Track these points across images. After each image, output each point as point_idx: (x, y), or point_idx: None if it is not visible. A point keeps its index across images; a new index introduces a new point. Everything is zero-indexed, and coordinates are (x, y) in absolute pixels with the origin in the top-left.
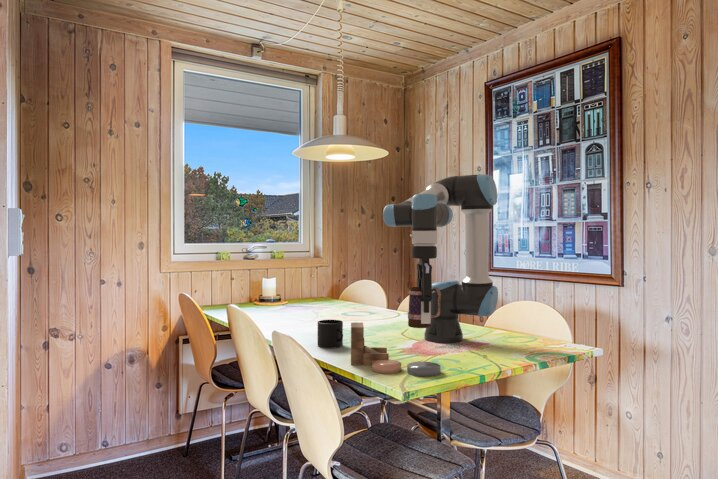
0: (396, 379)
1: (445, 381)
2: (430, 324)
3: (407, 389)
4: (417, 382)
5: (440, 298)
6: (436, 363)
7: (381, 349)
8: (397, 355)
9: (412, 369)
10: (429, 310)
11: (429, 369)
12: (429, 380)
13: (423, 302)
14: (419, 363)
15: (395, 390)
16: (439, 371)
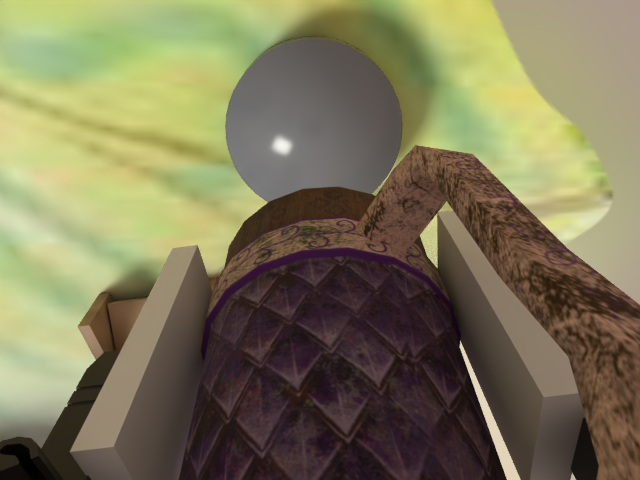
0: (437, 235)
1: (473, 13)
2: (362, 198)
3: (578, 189)
4: (484, 152)
5: (543, 263)
6: (254, 63)
7: (103, 339)
8: (21, 255)
9: (376, 187)
10: (520, 303)
11: (391, 106)
12: (454, 98)
13: (562, 457)
14: (272, 158)
15: (583, 230)
16: (348, 45)
